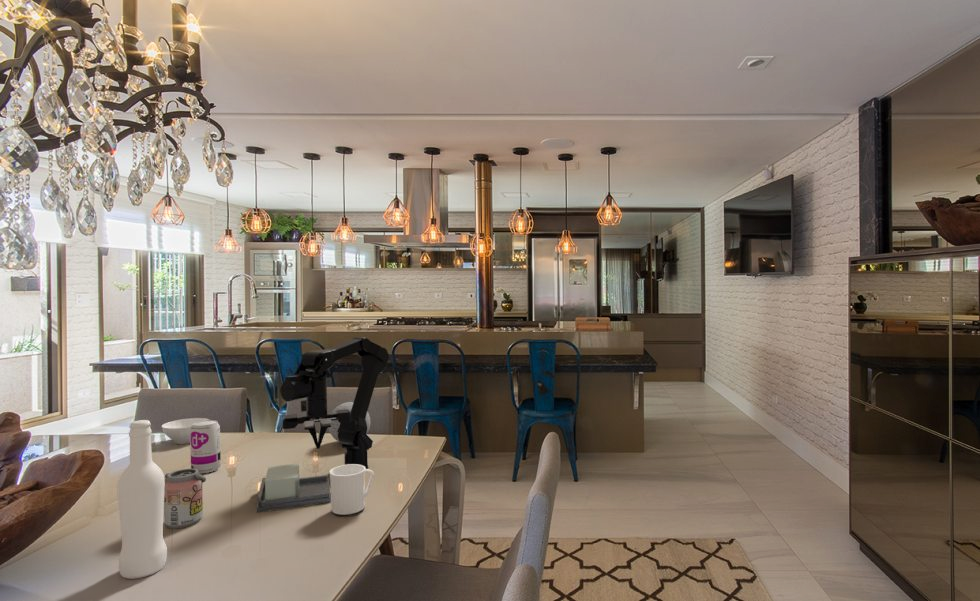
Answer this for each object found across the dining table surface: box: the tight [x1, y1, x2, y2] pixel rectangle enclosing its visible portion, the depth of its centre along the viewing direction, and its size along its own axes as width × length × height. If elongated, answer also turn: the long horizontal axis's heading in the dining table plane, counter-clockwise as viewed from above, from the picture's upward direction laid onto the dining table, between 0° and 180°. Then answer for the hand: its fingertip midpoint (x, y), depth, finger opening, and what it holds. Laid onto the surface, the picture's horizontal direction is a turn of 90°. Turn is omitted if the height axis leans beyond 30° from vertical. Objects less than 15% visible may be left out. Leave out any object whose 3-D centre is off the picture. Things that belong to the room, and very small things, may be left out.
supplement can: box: [189, 419, 222, 475], centre depth 165 cm, size 8×8×15 cm
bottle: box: [116, 419, 168, 580], centre depth 105 cm, size 8×8×30 cm
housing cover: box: [265, 462, 300, 500], centre depth 142 cm, size 8×12×6 cm, turn 19°
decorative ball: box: [328, 401, 371, 443], centre depth 193 cm, size 15×15×15 cm
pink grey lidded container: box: [163, 468, 207, 529], centre depth 128 cm, size 9×8×12 cm
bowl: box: [161, 417, 210, 445], centre depth 198 cm, size 16×16×7 cm
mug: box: [328, 464, 375, 518], centre depth 133 cm, size 11×9×10 cm
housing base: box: [256, 474, 332, 513], centre depth 143 cm, size 18×16×5 cm
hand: (318, 448), depth 152 cm, fingers closed
